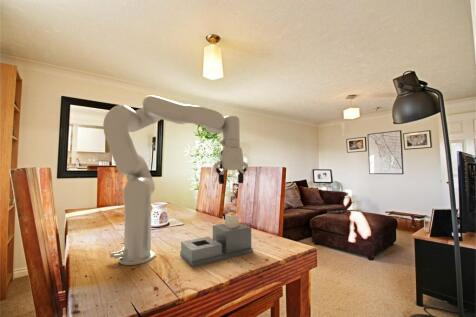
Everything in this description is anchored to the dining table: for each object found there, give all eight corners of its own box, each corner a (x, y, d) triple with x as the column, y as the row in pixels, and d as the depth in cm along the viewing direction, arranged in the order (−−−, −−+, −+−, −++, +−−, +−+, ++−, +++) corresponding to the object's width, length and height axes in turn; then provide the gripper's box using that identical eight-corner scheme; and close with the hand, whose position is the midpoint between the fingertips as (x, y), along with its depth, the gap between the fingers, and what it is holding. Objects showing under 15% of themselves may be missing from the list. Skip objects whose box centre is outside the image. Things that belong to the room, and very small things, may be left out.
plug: (229, 237, 91) (229, 214, 91) (224, 234, 95) (224, 212, 95) (238, 236, 93) (237, 213, 93) (232, 233, 97) (232, 211, 97)
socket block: (192, 267, 76) (192, 238, 77) (180, 254, 88) (180, 229, 89) (252, 252, 90) (252, 227, 91) (235, 243, 102) (234, 221, 103)
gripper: (217, 142, 88) (217, 184, 87) (252, 144, 98) (252, 183, 97) (209, 144, 95) (209, 183, 94) (242, 146, 104) (242, 182, 103)
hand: (231, 183), depth 95 cm, fingers open, 9 cm apart
